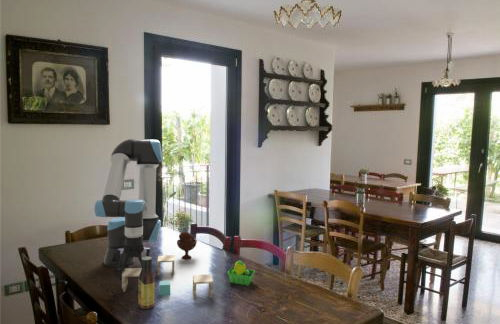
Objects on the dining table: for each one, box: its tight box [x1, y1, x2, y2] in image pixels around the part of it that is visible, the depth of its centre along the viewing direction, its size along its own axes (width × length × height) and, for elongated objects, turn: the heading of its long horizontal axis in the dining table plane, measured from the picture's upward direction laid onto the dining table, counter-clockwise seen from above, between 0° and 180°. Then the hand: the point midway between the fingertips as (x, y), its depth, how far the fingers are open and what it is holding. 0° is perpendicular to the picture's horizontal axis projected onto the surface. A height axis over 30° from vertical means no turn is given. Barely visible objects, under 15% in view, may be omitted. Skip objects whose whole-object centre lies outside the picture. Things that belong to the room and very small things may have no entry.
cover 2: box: [156, 254, 175, 276], centre depth 187 cm, size 8×8×7 cm
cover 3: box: [192, 273, 214, 300], centre depth 163 cm, size 8×8×7 cm
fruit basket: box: [227, 260, 255, 286], centre depth 177 cm, size 11×9×11 cm
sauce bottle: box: [137, 256, 156, 310], centre depth 150 cm, size 7×6×20 cm
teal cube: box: [158, 280, 171, 296], centre depth 164 cm, size 4×4×4 cm
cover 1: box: [122, 267, 142, 293], centre depth 166 cm, size 8×8×7 cm
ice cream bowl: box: [176, 231, 198, 261], centre depth 208 cm, size 11×11×15 cm
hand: (133, 286), depth 166 cm, fingers closed on cover 1, 8 cm apart
